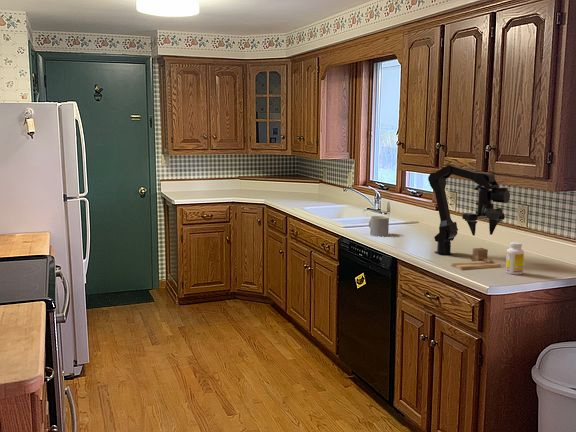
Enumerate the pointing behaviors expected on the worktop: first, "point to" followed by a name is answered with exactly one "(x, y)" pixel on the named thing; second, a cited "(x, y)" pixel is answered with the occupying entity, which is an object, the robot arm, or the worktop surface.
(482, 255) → the brown block with bar
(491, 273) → the worktop surface
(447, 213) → the robot arm
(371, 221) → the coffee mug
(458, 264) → the plank
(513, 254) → the supplement bottle
